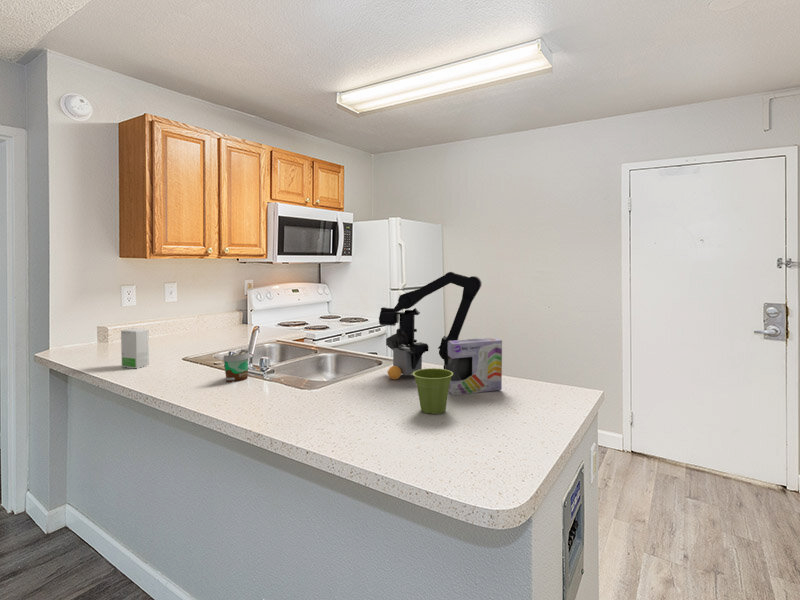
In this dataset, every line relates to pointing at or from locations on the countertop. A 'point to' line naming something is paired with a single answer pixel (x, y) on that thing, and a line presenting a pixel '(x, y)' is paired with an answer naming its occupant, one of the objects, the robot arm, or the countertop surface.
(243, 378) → the food container
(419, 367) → the matte gray foam cube
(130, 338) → the skincare box
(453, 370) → the cake pan box
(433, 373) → the plant pot
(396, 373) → the ball
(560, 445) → the countertop surface
